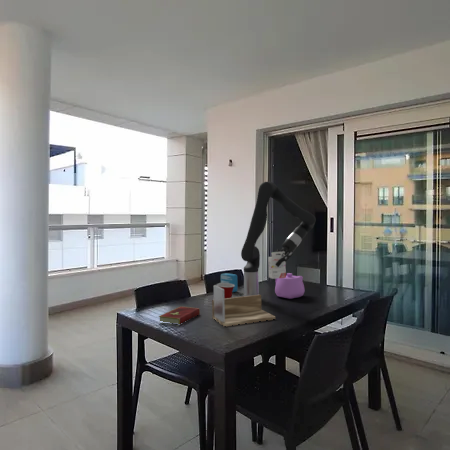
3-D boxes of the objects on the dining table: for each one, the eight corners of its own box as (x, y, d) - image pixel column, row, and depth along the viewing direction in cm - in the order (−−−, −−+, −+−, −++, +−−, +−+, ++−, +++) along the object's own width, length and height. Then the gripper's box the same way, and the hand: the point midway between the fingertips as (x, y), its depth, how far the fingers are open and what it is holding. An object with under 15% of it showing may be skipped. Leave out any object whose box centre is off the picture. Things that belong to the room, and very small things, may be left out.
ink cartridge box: (282, 276, 206) (281, 250, 205) (286, 277, 201) (285, 251, 201) (268, 277, 203) (267, 251, 203) (271, 278, 199) (271, 252, 198)
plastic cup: (233, 306, 211) (232, 286, 210) (215, 305, 213) (214, 285, 212) (236, 302, 221) (236, 282, 221) (219, 301, 223) (218, 282, 223)
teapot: (312, 295, 235) (312, 272, 234) (291, 301, 221) (290, 276, 221) (285, 290, 252) (285, 269, 252) (264, 295, 239) (263, 272, 239)
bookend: (214, 316, 185) (213, 285, 185) (215, 316, 186) (215, 285, 185) (222, 322, 174) (222, 289, 174) (224, 322, 174) (224, 289, 174)
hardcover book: (199, 315, 195) (199, 307, 194) (179, 326, 175) (179, 318, 175) (180, 313, 199) (180, 305, 199) (158, 324, 180) (158, 315, 180)
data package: (220, 290, 256) (220, 273, 256) (224, 289, 259) (224, 273, 259) (233, 292, 248) (233, 275, 248) (237, 291, 251) (237, 274, 251)
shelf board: (212, 318, 187) (212, 300, 187) (260, 311, 198) (260, 294, 197) (224, 326, 172) (223, 307, 172) (275, 319, 183) (275, 300, 183)
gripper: (281, 237, 211) (263, 259, 207) (295, 238, 198) (276, 262, 194) (289, 246, 213) (271, 267, 209) (303, 248, 200) (285, 271, 196)
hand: (274, 265), depth 201 cm, fingers closed on ink cartridge box, 5 cm apart
